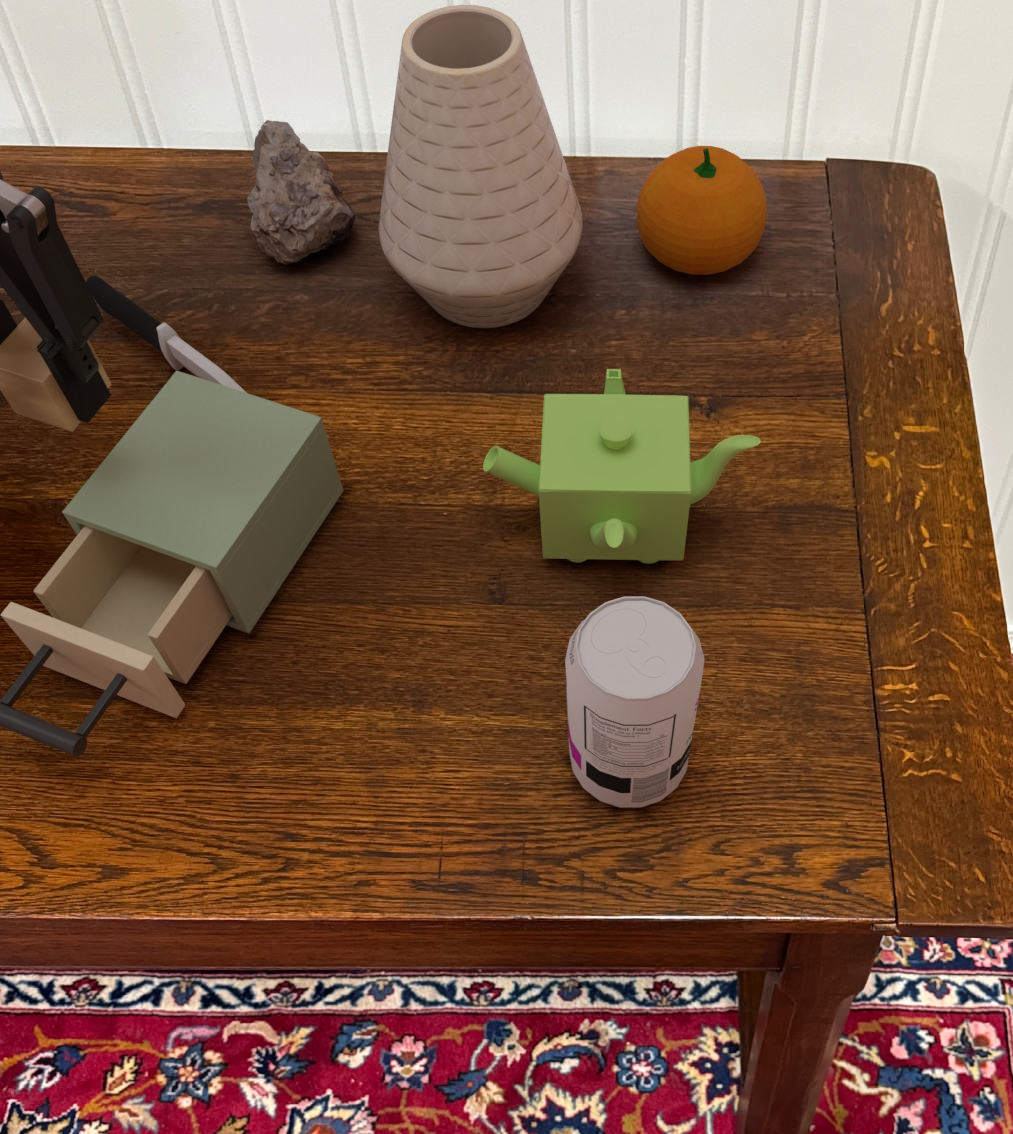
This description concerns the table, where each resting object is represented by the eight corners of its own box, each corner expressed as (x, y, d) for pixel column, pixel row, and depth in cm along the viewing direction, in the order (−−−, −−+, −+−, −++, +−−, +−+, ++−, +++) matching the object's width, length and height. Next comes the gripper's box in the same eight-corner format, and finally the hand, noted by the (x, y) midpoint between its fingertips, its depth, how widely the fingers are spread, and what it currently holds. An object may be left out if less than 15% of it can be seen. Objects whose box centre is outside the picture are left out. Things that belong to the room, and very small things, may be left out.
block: (15, 413, 76) (-18, 363, 72) (55, 366, 78) (26, 315, 74) (72, 432, 75) (43, 382, 71) (112, 384, 77) (85, 333, 73)
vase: (585, 222, 107) (583, -28, 87) (581, 356, 98) (578, 111, 78) (401, 221, 107) (357, -29, 88) (380, 354, 99) (326, 110, 79)
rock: (277, 300, 106) (322, 251, 98) (186, 196, 102) (225, 137, 95) (337, 253, 111) (384, 202, 103) (252, 152, 107) (294, 92, 100)
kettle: (746, 524, 89) (765, 427, 79) (622, 635, 84) (626, 546, 74) (608, 423, 94) (610, 321, 85) (484, 521, 89) (470, 425, 80)
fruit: (608, 245, 106) (610, 149, 97) (697, 189, 110) (706, 92, 101) (699, 310, 101) (708, 216, 92) (788, 249, 105) (805, 153, 96)
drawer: (126, 794, 77) (87, 750, 71) (-12, 737, 79) (-61, 690, 73) (274, 572, 86) (251, 516, 80) (147, 526, 88) (115, 469, 82)
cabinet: (249, 634, 84) (216, 567, 77) (106, 581, 87) (61, 511, 79) (344, 490, 91) (321, 416, 84) (209, 445, 94) (176, 369, 86)
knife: (304, 448, 93) (290, 405, 89) (288, 460, 93) (273, 418, 88) (115, 310, 102) (94, 265, 97) (99, 321, 101) (77, 276, 97)
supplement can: (545, 751, 79) (536, 639, 66) (634, 684, 82) (642, 564, 69) (622, 835, 76) (628, 735, 63) (712, 763, 78) (735, 652, 66)
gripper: (-325, 68, 56) (-81, 400, 76) (-33, 147, 53) (142, 474, 73) (-218, -11, 60) (-12, 326, 80) (62, 58, 56) (204, 393, 76)
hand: (61, 396), depth 76 cm, fingers closed on block, 5 cm apart
